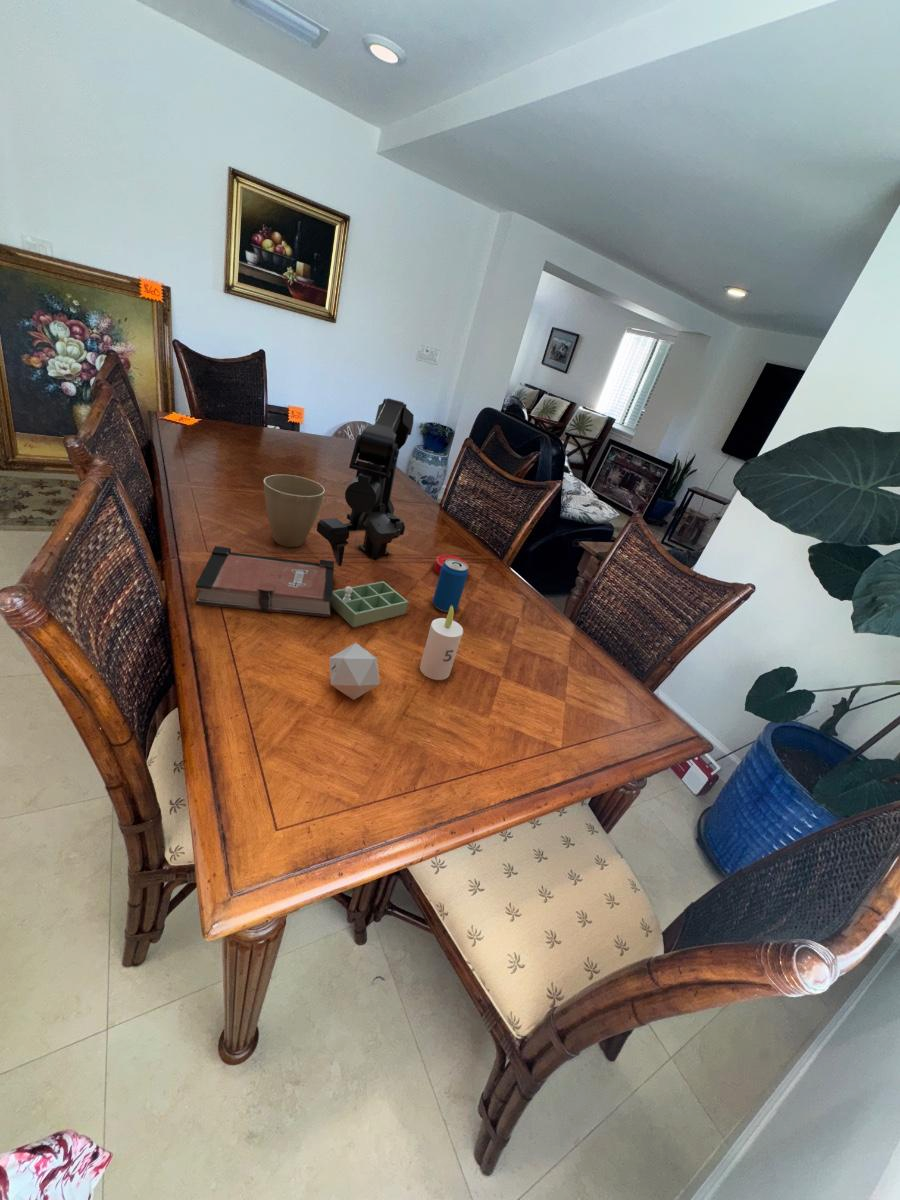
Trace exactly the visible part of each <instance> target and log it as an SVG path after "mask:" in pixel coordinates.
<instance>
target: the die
mask: <svg viewBox="0 0 900 1200" xmlns="http://www.w3.org/2000/svg"><path fill="white" fill-rule="evenodd" d="M328 660H329V676H330V677H329V678H330V679H329V681H330V686H332V687H333V688H334V689H336V690H338V691H339V692H340V693H342V694H344V695H345V696H347V697H348V698H350V699H351V700H352V701H355V700H356V699H358V698H359V697H361V696H363V695H365V694H366V693H367V692H369V691H371V690H373V689H374V688H376V687H378V686H380V685H381V682H380V681H381V680H380V672H379V665H378V658H377V657H376V656H374V655H373V654H372V653H371V652H369V651H368V650H367V649H365V648H364V647H363V646H361V645H360V644H358V643H357V642H353V643H352V644H351V645H349V646H348V647H346V648H344V649H342V650H341V651H339V652H338V653H335V654H333V655H331V656H330V657H329V659H328Z"/></svg>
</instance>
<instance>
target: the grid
mask: <svg viewBox="0 0 900 1200" xmlns="http://www.w3.org/2000/svg"><path fill="white" fill-rule="evenodd" d="M350 587H351V588H352V593H351V594H350V595H351V596H350V599H351V600H349V601H345V602H344V601H343V598H344V597H345V588H340V589H336V590H335V589H334V590H333V593H332V602H331V608H332V609H334V611H335V612H337V614H338V615H339V616H341V618H342V619H343V620H345V621H346V622H347V623H348V624H349V626H351V628H356V627H361V626H365V625H368V624H372V623H376V622H379V621H384V620H386V619H392V618H396V617H399V616H404V615H407V610H408V605H409V601H408V600H407V599H406V598H405V597H404V596H402V595H401V594H400V593H399V592H397V591H396V590H395V589H393V587H391V586H390V585H389V584H388V583H386V582H385V581H384V580H383V581H377V582H372V583H366V584H361V585H357V586H350Z"/></svg>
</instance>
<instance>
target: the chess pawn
mask: <svg viewBox="0 0 900 1200" xmlns="http://www.w3.org/2000/svg"><path fill="white" fill-rule="evenodd" d="M351 587H352V586H350V585H347V586H345V587H344V589H345V597H344V598H343V601H344V602H345V601H349V600H351V599H350V596H351V595H350V594H351V593H352V588H351Z"/></svg>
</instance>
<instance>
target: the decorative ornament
mask: <svg viewBox="0 0 900 1200" xmlns="http://www.w3.org/2000/svg"><path fill="white" fill-rule="evenodd" d="M447 559H456V560H460V561H462V562H464V563H465V564H466V565H467V566H468V568H467V570H468V571H469V568H470V566H469V564H468V562H467V561H465V559H462V558H461V557H457V556H454V555H449V554H442V555H438V556H437V557H436V558H435V563H434V565H433V570H434V572H435V573H436V575H438V576H439V575H440V571H441V568H442V565H443V564H444V563H445V561H446V560H447Z"/></svg>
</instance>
